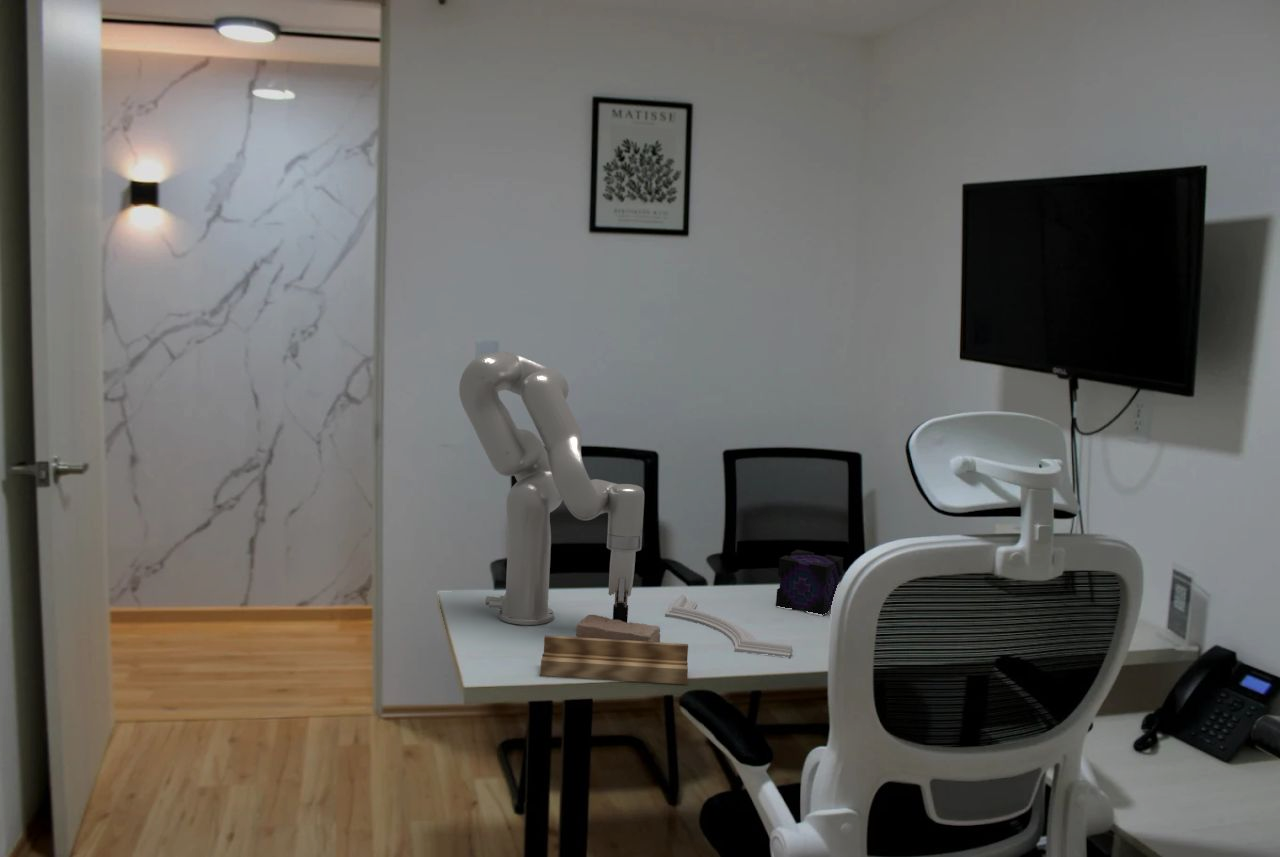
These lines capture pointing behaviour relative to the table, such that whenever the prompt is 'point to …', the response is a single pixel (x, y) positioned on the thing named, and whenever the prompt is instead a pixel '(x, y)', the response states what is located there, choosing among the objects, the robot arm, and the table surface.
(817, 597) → the energy cube
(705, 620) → the molding
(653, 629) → the brick
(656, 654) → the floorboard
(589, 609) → the table surface
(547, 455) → the robot arm
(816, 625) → the table surface
